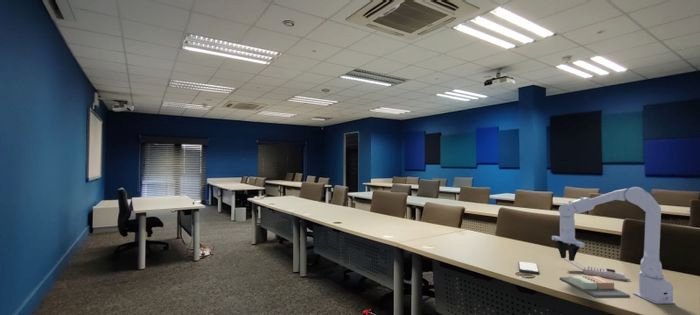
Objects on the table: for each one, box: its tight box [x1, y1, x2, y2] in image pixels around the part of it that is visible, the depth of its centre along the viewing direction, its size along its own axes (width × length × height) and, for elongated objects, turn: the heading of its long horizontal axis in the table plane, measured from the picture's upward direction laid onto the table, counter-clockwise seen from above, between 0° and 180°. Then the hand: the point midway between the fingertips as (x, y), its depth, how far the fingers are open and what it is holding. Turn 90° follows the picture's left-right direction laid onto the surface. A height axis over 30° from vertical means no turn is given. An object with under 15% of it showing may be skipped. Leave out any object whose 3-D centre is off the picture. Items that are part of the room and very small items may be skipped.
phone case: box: [518, 261, 540, 275], centre depth 160 cm, size 9×2×16 cm
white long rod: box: [563, 256, 631, 282], centre depth 153 cm, size 6×6×25 cm
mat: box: [559, 276, 631, 298], centre depth 136 cm, size 20×14×1 cm
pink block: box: [583, 275, 615, 289], centre depth 136 cm, size 8×7×3 cm
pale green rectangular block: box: [569, 275, 597, 289], centre depth 136 cm, size 8×6×3 cm
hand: (567, 259), depth 145 cm, fingers open, 3 cm apart
